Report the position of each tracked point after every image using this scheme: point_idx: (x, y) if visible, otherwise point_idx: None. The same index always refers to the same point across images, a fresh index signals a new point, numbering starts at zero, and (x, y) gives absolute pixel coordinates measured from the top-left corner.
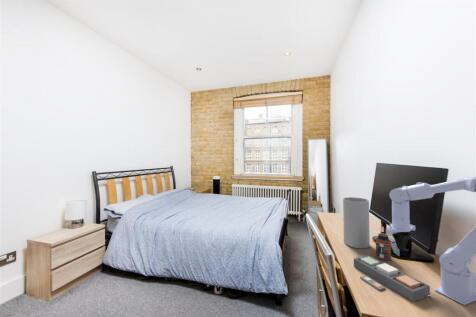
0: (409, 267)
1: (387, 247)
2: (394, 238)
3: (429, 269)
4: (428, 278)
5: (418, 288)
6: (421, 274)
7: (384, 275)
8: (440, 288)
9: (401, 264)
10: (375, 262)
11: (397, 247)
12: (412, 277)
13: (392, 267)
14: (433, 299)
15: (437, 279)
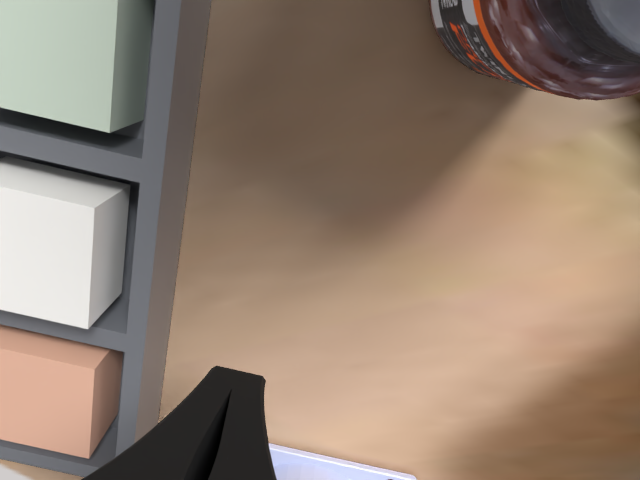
0: (481, 246)
1: (502, 72)
2: (100, 475)
3: (579, 350)
4: (395, 380)
5: (22, 456)
6: (421, 338)
7: None
8: (286, 461)
9: (489, 181)
10: (55, 110)
11: (206, 377)
12: (137, 398)
13: (72, 288)
14: None
15: (433, 416)
